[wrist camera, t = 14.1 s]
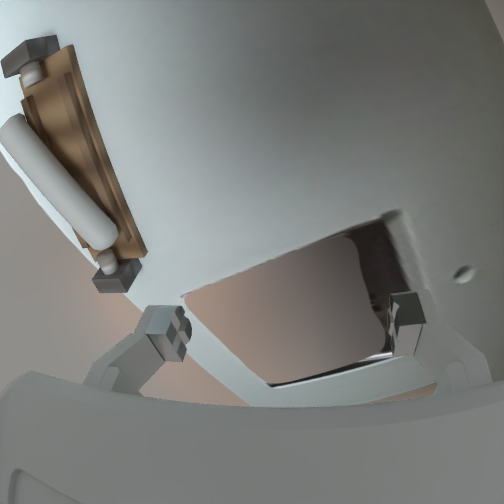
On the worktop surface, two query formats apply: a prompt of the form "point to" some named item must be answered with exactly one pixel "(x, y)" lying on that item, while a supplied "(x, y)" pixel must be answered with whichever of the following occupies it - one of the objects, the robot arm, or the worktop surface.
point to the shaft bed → (77, 148)
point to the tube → (57, 183)
